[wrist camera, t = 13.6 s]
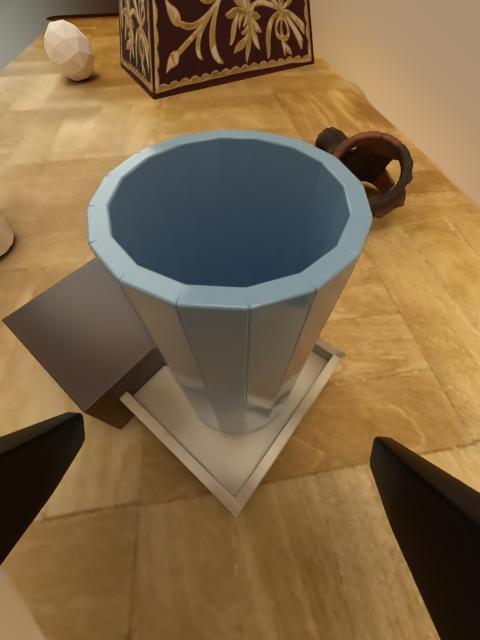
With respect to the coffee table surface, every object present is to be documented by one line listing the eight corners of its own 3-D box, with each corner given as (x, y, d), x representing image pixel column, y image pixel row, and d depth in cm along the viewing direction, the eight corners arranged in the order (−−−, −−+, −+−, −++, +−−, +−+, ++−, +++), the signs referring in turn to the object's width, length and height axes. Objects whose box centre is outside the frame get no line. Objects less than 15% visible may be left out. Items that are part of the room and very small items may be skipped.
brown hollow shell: (410, 206, 31) (449, 161, 23) (345, 261, 32) (360, 236, 24) (339, 140, 33) (352, 78, 25) (280, 193, 35) (275, 150, 27)
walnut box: (220, 538, 15) (211, 558, 11) (49, 353, 21) (1, 319, 17) (340, 358, 21) (365, 326, 16) (178, 253, 27) (166, 210, 23)
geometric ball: (97, 93, 55) (108, 47, 50) (68, 89, 49) (78, 37, 44) (63, 64, 53) (71, 14, 49) (29, 56, 47) (35, -2, 42)
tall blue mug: (288, 438, 15) (404, 318, 4) (178, 430, 16) (31, 298, 5) (285, 308, 20) (337, 94, 9) (201, 303, 21) (153, 90, 9)
